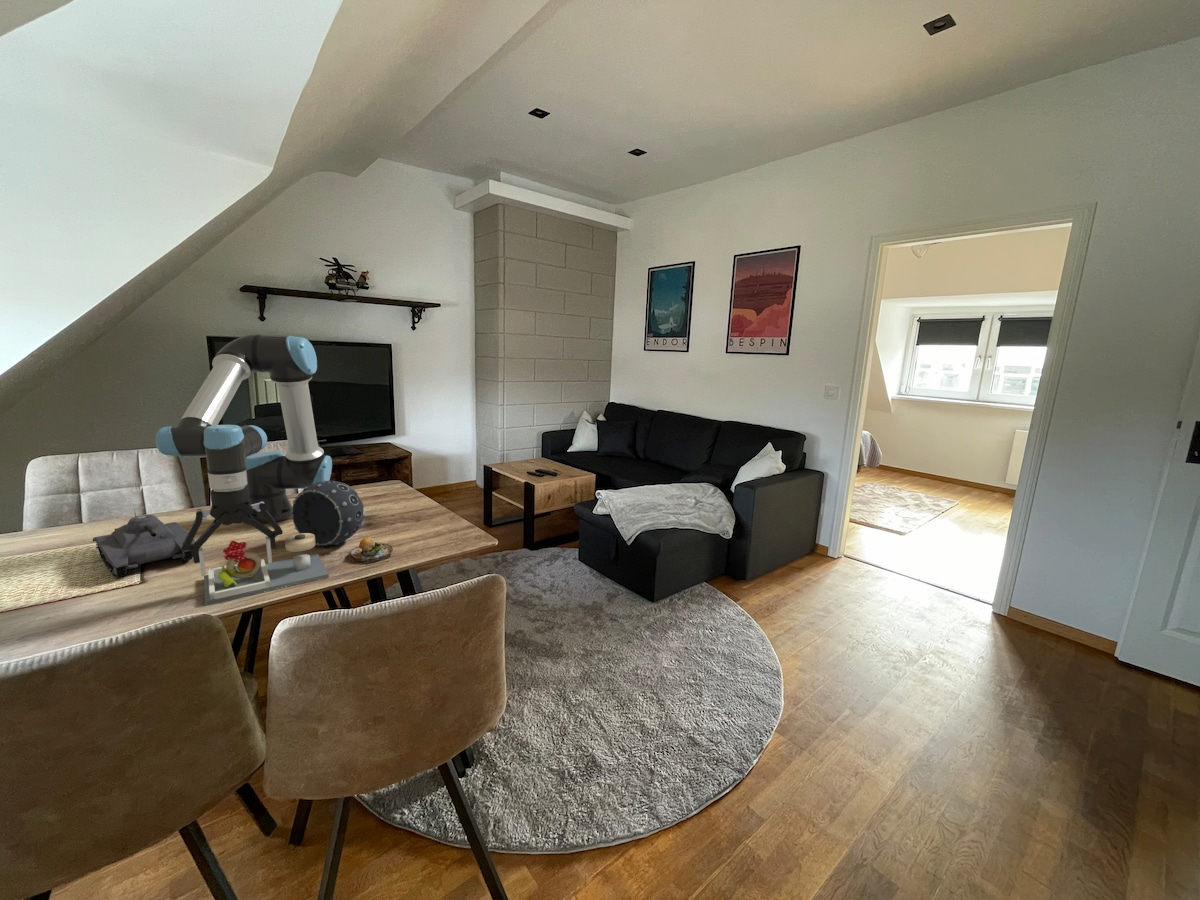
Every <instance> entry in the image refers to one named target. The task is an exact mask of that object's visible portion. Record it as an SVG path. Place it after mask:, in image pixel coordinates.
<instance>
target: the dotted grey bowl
mask: <svg viewBox="0 0 1200 900" xmlns="http://www.w3.org/2000/svg"><path fill="white" fill-rule="evenodd" d="M364 512H365V511H364V503H363V501H362V499H361V497H360V496H359V494H358V492H357V491H356V490H355V489H353V488H352V487H351V486H350V485H348V484H346V483H344V482H342V481H338V480H337V481H336V480H329V481H322V482H318V483H315V484H313V485H310V486H308V487H305V488H304V489H303V490H301V491H300V493H299V494H298V495H297V496H295V499H294V500H293V501H292V514H291V517H292V522H293V525H294V529H295V530H296V531H297V532H298V534H301V533H310V534H314V535H315V544H316V545H315V546H318V547H319V546H321V547H327V546H334V545H339V544H340V543H341V544H342V543H343V542H345V541H347V540H348V539H350V538H351V537H353V536H354V535H355V534H356V533H357V532H358V530H359V529H360V528H361V526H362V524H363V522H364V518H365V513H364Z"/></svg>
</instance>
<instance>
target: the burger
mask: <svg viewBox="0 0 1200 900" xmlns="http://www.w3.org/2000/svg"><path fill="white" fill-rule="evenodd" d="M392 552H393V547H392V545H390V544H387V543H381V542H380V543H378V542H376V541H375V539H374V538H372V537H367V536H366V537H364V536H363V535H362V539H361V540H360V541H359V544H358V546H355V547H354V548H353V549H351V550H350V552H349V555H348V556H349V558H348V559H349V560H350V561H351V562H352V563H356V564H373V563H379V562H382V561H383V562H384V561H385V560H387V559H389V558H391V556H392Z"/></svg>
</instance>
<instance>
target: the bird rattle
mask: <svg viewBox="0 0 1200 900" xmlns="http://www.w3.org/2000/svg"><path fill="white" fill-rule="evenodd" d="M229 542H230V543H229V544H228V546H227V548H224V549H222V553H223V554H224V559H225V560H227V561H228V562H227V563H226V565H222V566H221V567H222V571H221V572H220V573H219V574H218V579H220V580H223V582H224V586H226V587H228V586H229V585H231V583H232V584H233V585H235V586H236V585H237V583H236V582H235V581H234V580H233V579H232V578H231V577H234V578H253V576H254V574H255V573H256V572H257V571H258V569H259V568H260V565H261V560H260V559H261V557H260V556H259V555H258V554H257V553H255V552H252V551H246V548H247V546H248V543H247V542H244V541H241V542H238V541H235V540H231V541H229ZM235 565H238V566H237V568H238V570H239V571H240V572H238V571H237V570H236V568H235V567H234V566H235ZM224 566H226V569H225V568H224Z"/></svg>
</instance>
